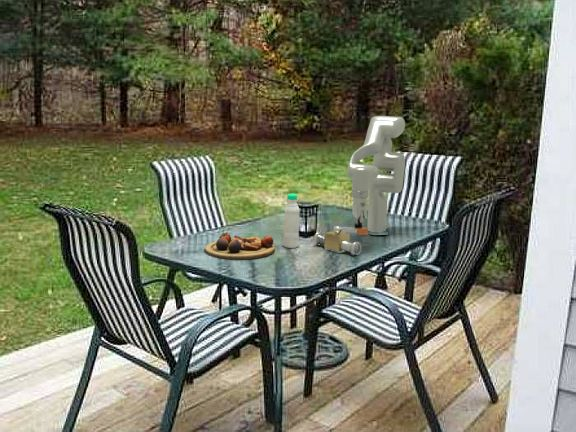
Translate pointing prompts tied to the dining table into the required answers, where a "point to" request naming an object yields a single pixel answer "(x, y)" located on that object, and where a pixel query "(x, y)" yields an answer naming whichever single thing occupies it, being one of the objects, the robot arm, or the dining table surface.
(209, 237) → the dining table surface
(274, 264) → the dining table surface
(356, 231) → the valve lever
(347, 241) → the valve pipe
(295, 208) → the water bottle
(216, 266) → the dining table surface
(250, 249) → the wooden plate with food
